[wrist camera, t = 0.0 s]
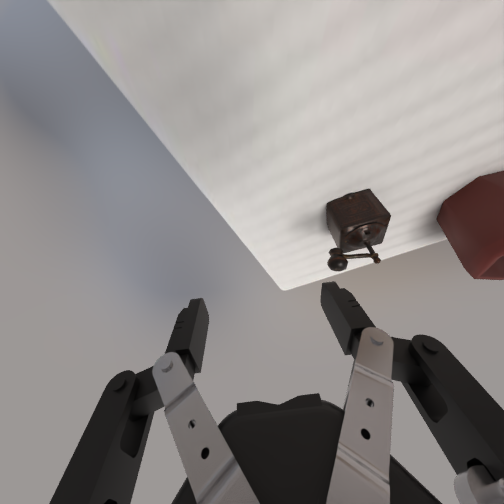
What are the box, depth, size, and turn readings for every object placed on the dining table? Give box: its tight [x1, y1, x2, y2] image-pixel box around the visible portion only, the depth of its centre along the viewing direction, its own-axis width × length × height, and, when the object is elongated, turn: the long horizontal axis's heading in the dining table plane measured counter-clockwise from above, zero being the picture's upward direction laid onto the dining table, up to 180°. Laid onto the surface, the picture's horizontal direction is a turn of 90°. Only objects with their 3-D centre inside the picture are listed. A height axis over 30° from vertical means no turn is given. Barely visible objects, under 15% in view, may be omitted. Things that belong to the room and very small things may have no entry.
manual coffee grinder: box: [326, 189, 391, 271], centre depth 45 cm, size 16×11×18 cm
